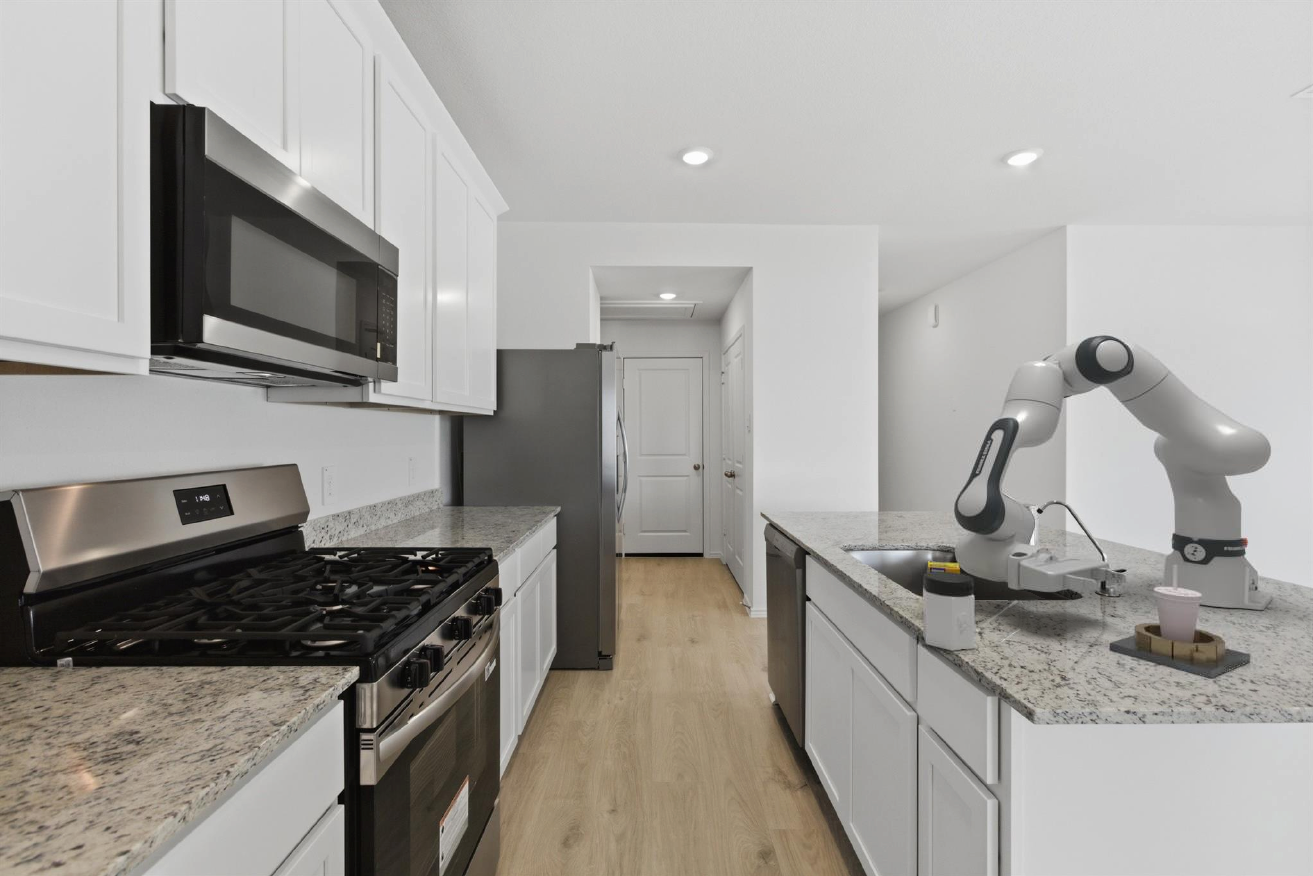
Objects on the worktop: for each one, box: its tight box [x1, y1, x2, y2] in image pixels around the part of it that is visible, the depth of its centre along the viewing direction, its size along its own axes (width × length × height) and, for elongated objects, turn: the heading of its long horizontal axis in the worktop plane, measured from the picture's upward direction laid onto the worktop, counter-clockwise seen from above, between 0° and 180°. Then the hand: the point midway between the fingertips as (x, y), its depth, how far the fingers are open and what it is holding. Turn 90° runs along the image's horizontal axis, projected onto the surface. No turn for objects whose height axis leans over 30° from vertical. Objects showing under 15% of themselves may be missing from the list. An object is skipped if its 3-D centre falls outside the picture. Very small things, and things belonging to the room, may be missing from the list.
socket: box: [1108, 622, 1251, 679], centre depth 105 cm, size 14×14×4 cm
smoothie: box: [1152, 565, 1203, 643], centre depth 104 cm, size 6×6×14 cm
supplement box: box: [926, 560, 961, 574], centre depth 126 cm, size 6×6×11 cm
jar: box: [922, 572, 976, 652], centre depth 111 cm, size 9×8×12 cm
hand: (1111, 582), depth 113 cm, fingers open, 8 cm apart
